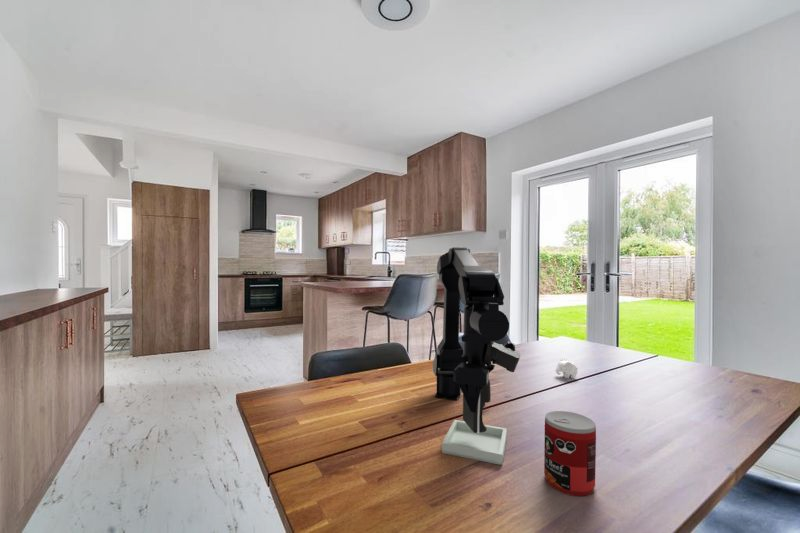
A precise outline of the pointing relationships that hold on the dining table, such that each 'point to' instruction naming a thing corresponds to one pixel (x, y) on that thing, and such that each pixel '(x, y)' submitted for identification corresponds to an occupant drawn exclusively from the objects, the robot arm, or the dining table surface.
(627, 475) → the dining table surface
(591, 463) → the canned food
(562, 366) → the elephant figurine
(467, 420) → the battery charger
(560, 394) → the dining table surface
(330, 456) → the dining table surface
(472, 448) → the shallow rectangular tray
